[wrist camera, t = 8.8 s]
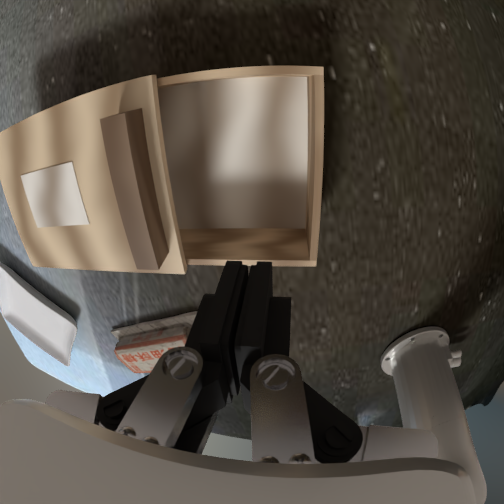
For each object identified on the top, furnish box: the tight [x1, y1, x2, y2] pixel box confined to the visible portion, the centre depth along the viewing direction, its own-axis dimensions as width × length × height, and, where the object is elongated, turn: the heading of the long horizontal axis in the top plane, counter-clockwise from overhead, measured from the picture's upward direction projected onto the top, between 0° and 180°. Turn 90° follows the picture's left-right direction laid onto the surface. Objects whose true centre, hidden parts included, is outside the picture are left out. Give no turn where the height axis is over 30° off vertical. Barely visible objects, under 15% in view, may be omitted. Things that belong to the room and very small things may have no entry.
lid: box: [0, 75, 187, 274], centre depth 20 cm, size 21×17×3 cm
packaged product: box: [111, 311, 197, 373], centre depth 40 cm, size 18×5×10 cm
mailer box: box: [157, 66, 324, 266], centre depth 23 cm, size 20×16×6 cm
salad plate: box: [0, 263, 77, 366], centre depth 43 cm, size 21×21×3 cm
